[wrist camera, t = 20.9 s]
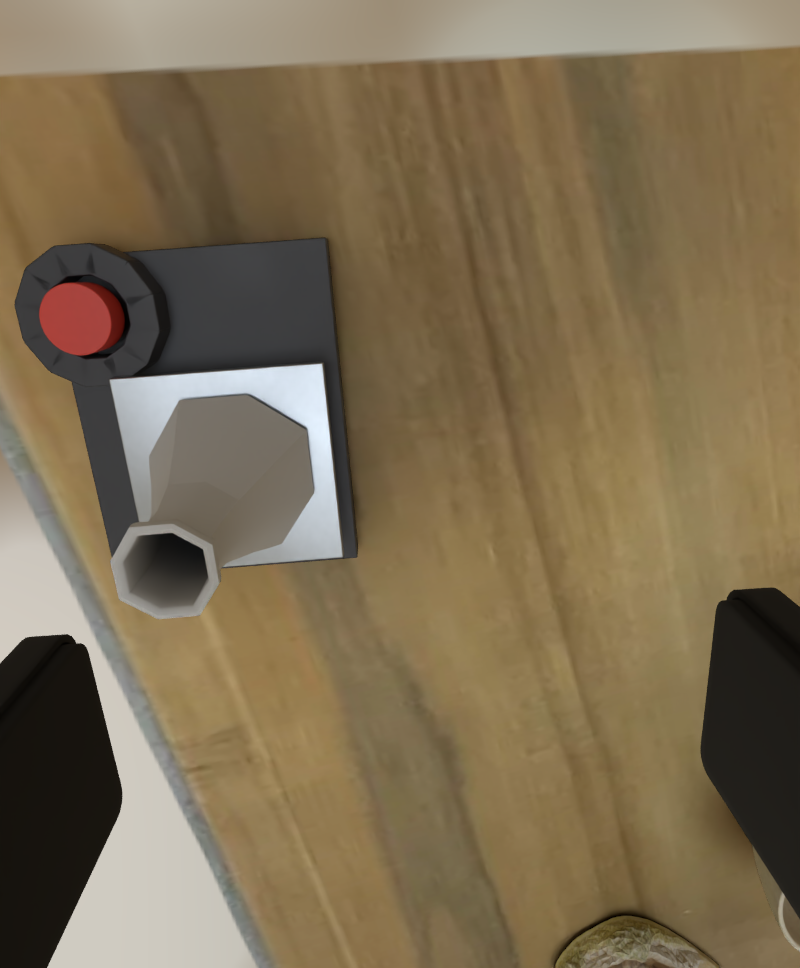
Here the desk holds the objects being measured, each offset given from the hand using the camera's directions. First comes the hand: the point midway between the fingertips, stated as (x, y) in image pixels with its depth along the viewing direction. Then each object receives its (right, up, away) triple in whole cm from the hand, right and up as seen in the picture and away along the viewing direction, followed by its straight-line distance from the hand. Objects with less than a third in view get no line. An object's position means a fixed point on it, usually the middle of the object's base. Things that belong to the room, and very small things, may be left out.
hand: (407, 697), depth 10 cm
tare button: (-13, +10, +17) cm, 24 cm away
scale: (-9, +7, +22) cm, 24 cm away
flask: (-7, +4, +19) cm, 21 cm away
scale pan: (-8, +4, +19) cm, 21 cm away
